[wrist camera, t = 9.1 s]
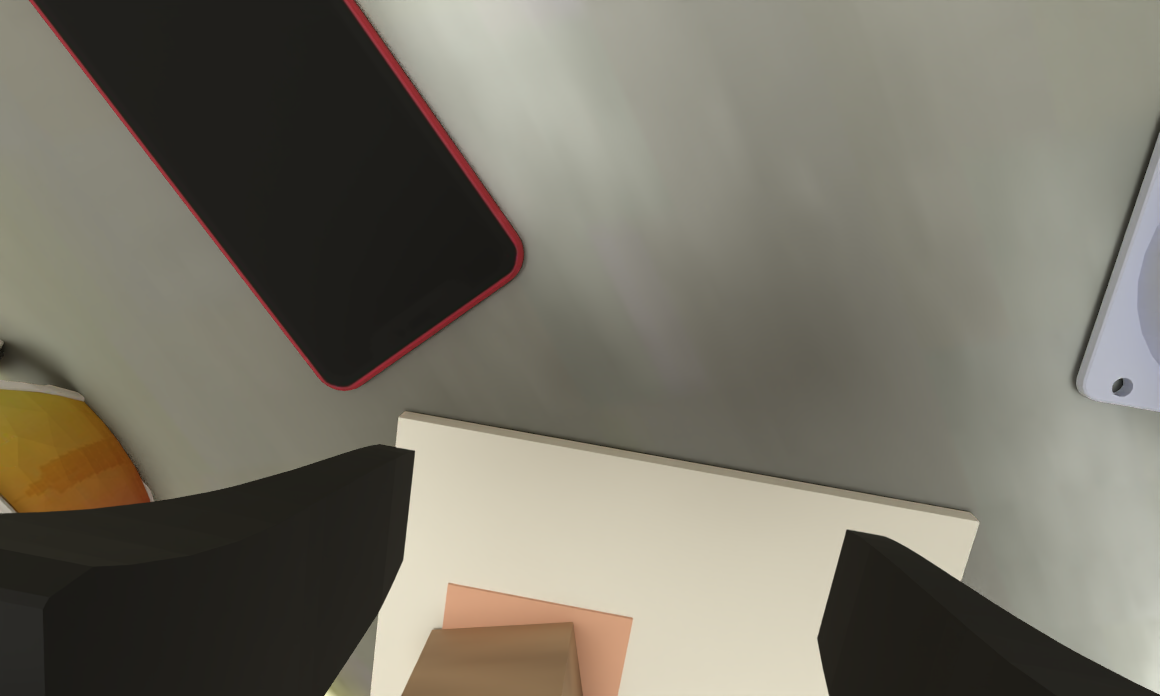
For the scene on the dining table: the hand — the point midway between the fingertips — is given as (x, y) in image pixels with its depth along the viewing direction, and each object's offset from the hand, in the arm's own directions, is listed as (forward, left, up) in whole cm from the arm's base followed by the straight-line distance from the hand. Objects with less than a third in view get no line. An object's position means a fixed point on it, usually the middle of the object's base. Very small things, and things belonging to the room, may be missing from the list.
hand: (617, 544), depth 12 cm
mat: (-2, +10, -9) cm, 14 cm away
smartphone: (+11, -6, -10) cm, 16 cm away
